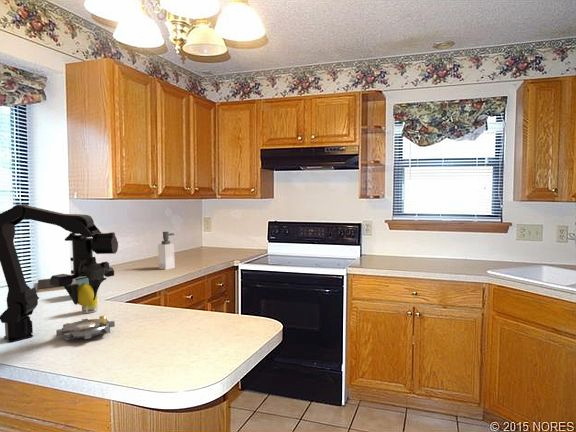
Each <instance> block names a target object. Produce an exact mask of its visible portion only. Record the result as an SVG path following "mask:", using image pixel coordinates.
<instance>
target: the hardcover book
mask: <svg viewBox="0 0 576 432" xmlns="http://www.w3.org/2000/svg"><path fill="white" fill-rule="evenodd" d="M59 290H66V289H65V288H64V286H62V287H58V286H53V285H50V278H43V279H42V278H41V279H38V280H37V287H36V291H37V293H44V292H52V291H53V292H54V291H59Z"/></svg>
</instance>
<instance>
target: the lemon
mask: <svg viewBox="0 0 576 432" xmlns="http://www.w3.org/2000/svg"><path fill="white" fill-rule="evenodd" d="M77 294H78V304H77V305H79V306H81V307H82V306H83V307H86V306H87V305H89V304H90V303H91V302H92V301H93V299H94V291H93V288H92V287H91V286H90V285H89V284H86V283H83V284H81V285H79V286H78V288H77Z"/></svg>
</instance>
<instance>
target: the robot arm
mask: <svg viewBox="0 0 576 432" xmlns="http://www.w3.org/2000/svg"><path fill="white" fill-rule="evenodd" d="M25 219H26V220H31V221H36V222H40V223H44V224H48V225H53V226H57V227H60V228H61V229H63V230H65V231H68V232H69V234H68V235H67V236H66V237H65V238H64V241H65V242H71V245H72V248H71V249H72V257H70V262H72V268H73V269H71V270H70V274H66V273H59V274H54V275H51V276H50V278H49V279H50V285H53V286H58V287H62V286H64V288H65V289H64V290H65V291H66V292H67V293H68V295H69V297H70V299H71V300H72V302H73V304H74V305H76V306H77V305H79V304H78V294H77V288H78V286H79V284H76V280H80V279H85V278H88V279H89V285H90V286H91V287H92V288H93V291H94V299H93V300H95V297H96V294H97V295H98V291H99V288H100V286H101V284H102V283H103V282H104V281H106V280H107V278H111V277H114V276H115V269H114V268H113V267H111V266H110V263H109V262H108V261H102V262H99V263H97V259H96V256H94V253H95V254H96V255H106V254H107V255H110V254H113V255H114V254H117V253H118V250H119V241H118V238H117V236H116V233H115V232H101V231H100V229H99V227H97V226H96V224H95V223H94V218H93V217H92V216H91V215H88V214H80V213H79V214H77V213H63V212H58V211H54V210H53V211H52V210H49V209H45V208H41V207H36V206H32V205H29V204H24V203H23V204H16V205H14V206H12V207H11V208H9V209H7V210H5V211H3V212H1V213H0V266H1V269H2V272H3V275H4V276H3V277H4V278H5V283H6V284H7V289H8V291H7V296H6V309H5V310H4V311H3V312H2V313H1V314H0V323H2V324H4V330H5V331H4V332H5V334H4V336H3V338H4V339H5V340H6V341H7V342H9V343H12V342H17V341H20V340H25V339H30V338H32V337H34V335H33V332H34V331H33V330H34V329H33V321H32V320H31V315H33V313H34V310H35V309H36V308H37V306H38V304H39V301H38V300H39V299H40V297H39V296H38V292H37V287H32V288H31V287H30V286H29V285H28V284H27V283H26V280H25V279H26V278H25V276H24V272H23V269H22V266H21V263H20V259H19V256H18V253H17V250H16V246H15V242H14V240H15V235H16V229H15V228H16V227H15V226H17V225H19V224H20V223H21V222H22V221H24V220H25ZM80 276H81V277H80Z"/></svg>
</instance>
